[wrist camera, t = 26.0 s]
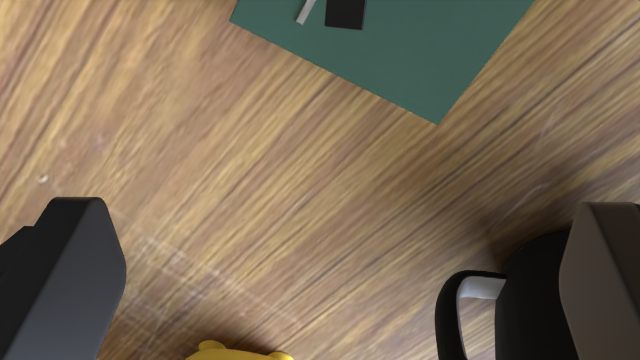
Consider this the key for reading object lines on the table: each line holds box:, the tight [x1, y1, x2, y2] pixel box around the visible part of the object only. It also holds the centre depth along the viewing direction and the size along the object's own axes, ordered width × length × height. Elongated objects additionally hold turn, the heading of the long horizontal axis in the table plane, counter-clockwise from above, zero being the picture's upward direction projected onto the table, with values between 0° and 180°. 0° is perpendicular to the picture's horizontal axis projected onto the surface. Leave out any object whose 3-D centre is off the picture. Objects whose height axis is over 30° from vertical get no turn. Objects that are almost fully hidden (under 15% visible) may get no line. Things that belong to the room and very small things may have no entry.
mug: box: [435, 203, 640, 360], centre depth 38 cm, size 16×16×12 cm
